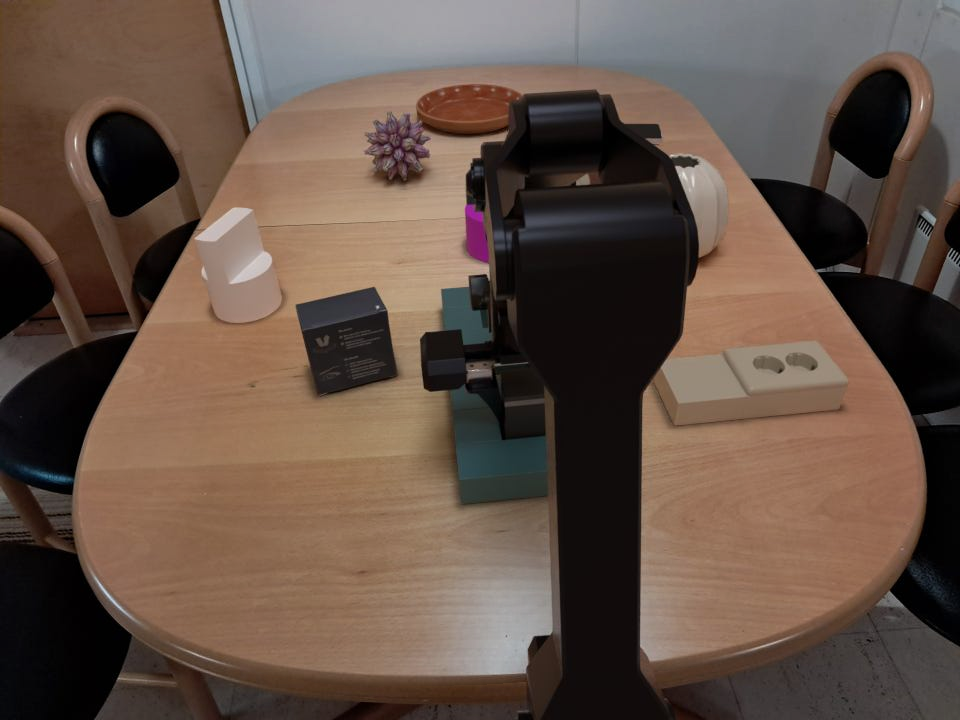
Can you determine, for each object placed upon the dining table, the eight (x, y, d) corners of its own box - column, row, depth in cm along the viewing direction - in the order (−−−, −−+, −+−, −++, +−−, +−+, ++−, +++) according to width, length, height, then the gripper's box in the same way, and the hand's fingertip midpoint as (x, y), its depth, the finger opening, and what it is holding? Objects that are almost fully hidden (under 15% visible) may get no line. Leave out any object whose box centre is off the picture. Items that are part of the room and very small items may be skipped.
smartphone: (663, 138, 131) (583, 138, 132) (662, 144, 132) (583, 144, 133) (658, 123, 137) (582, 123, 138) (657, 129, 138) (581, 129, 139)
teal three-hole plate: (605, 489, 66) (608, 464, 64) (461, 504, 65) (459, 479, 63) (547, 302, 91) (547, 279, 89) (442, 311, 91) (440, 288, 88)
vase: (642, 219, 108) (652, 135, 100) (732, 239, 102) (750, 151, 94) (607, 259, 99) (615, 170, 91) (704, 283, 93) (722, 190, 85)
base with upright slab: (260, 327, 89) (236, 245, 82) (200, 317, 92) (171, 237, 84) (294, 290, 96) (274, 211, 88) (238, 282, 98) (214, 204, 91)
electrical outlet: (658, 353, 75) (818, 338, 76) (653, 381, 78) (808, 366, 79) (679, 396, 70) (851, 379, 71) (674, 425, 72) (840, 409, 73)
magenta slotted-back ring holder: (533, 263, 99) (533, 223, 95) (464, 263, 100) (462, 224, 96) (533, 211, 112) (533, 175, 108) (472, 212, 112) (470, 175, 108)
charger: (546, 447, 69) (548, 394, 64) (505, 451, 68) (504, 398, 64) (540, 418, 72) (540, 366, 67) (500, 422, 72) (499, 370, 67)
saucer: (547, 113, 147) (547, 95, 144) (476, 147, 134) (475, 128, 131) (467, 94, 159) (466, 77, 157) (395, 123, 146) (393, 105, 144)
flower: (441, 178, 127) (412, 192, 117) (383, 167, 130) (350, 180, 120) (444, 112, 121) (414, 121, 112) (384, 103, 125) (349, 111, 115)
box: (386, 350, 84) (376, 284, 79) (398, 377, 80) (388, 309, 74) (310, 369, 82) (293, 302, 76) (318, 397, 78) (301, 329, 72)
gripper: (608, 232, 66) (597, 360, 75) (411, 248, 65) (426, 376, 74) (640, 296, 57) (624, 431, 67) (414, 315, 56) (430, 450, 66)
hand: (523, 419), depth 69 cm, fingers closed on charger, 4 cm apart
